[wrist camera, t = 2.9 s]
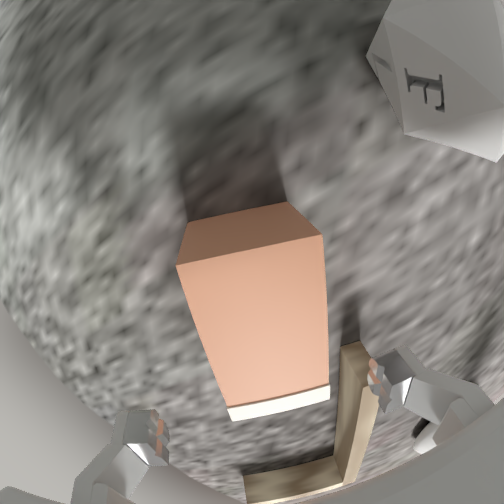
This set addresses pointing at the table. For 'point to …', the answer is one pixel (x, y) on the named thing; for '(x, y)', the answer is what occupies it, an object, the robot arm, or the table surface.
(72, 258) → the table surface
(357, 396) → the wooden corner bracket
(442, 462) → the robot arm
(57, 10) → the table surface
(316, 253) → the block
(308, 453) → the table surface
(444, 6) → the die
